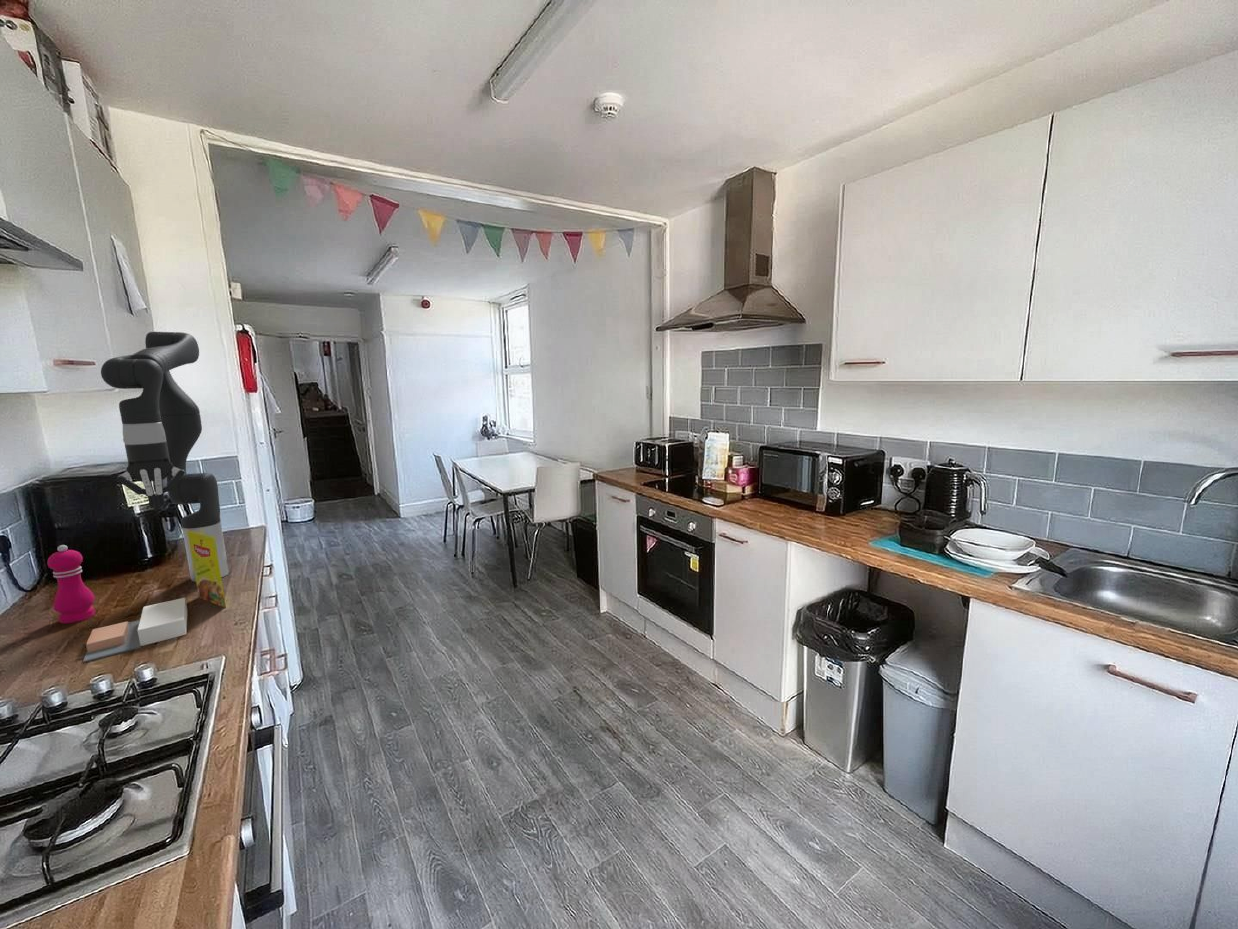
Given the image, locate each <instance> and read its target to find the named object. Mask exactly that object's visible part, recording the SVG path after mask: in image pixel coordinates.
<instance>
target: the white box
mask: <svg viewBox="0 0 1238 929" xmlns="http://www.w3.org/2000/svg"><path fill="white" fill-rule="evenodd" d="M140 616H141V617H140V619H139V620H140V623H139V626H138V635H139V641H140V646H141V647H142V646H147V645H150V644H155V643H158V642H162V641H166V640H170V639H174V638H178V637H182V636H185V635H187V628H188V626H187V625H188V605H187V600H186V597H181V598H177V599H176V598H175V599H173V600H169V601H168V600H167V601H164V602H159V603H154V604H150V605H146V606H143V608H142V613H141V615H140Z"/></svg>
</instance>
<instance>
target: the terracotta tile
mask: <svg viewBox="0 0 1238 929" xmlns="http://www.w3.org/2000/svg"><path fill="white" fill-rule="evenodd" d="M128 623H129V620H128V621H123V622H119V623H114V624H111V625H107V626H102V627H97V628H93V629H92V630H91V633H90V635H89V637H88V639H87V642H86V644H85V645H86V652H87V651H88V652H92V651H96V650H100V649H104V648H108V647H112V646H116V645H120V644H124V643H125V642H126V639H127V635H128V632H129V624H128Z"/></svg>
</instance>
